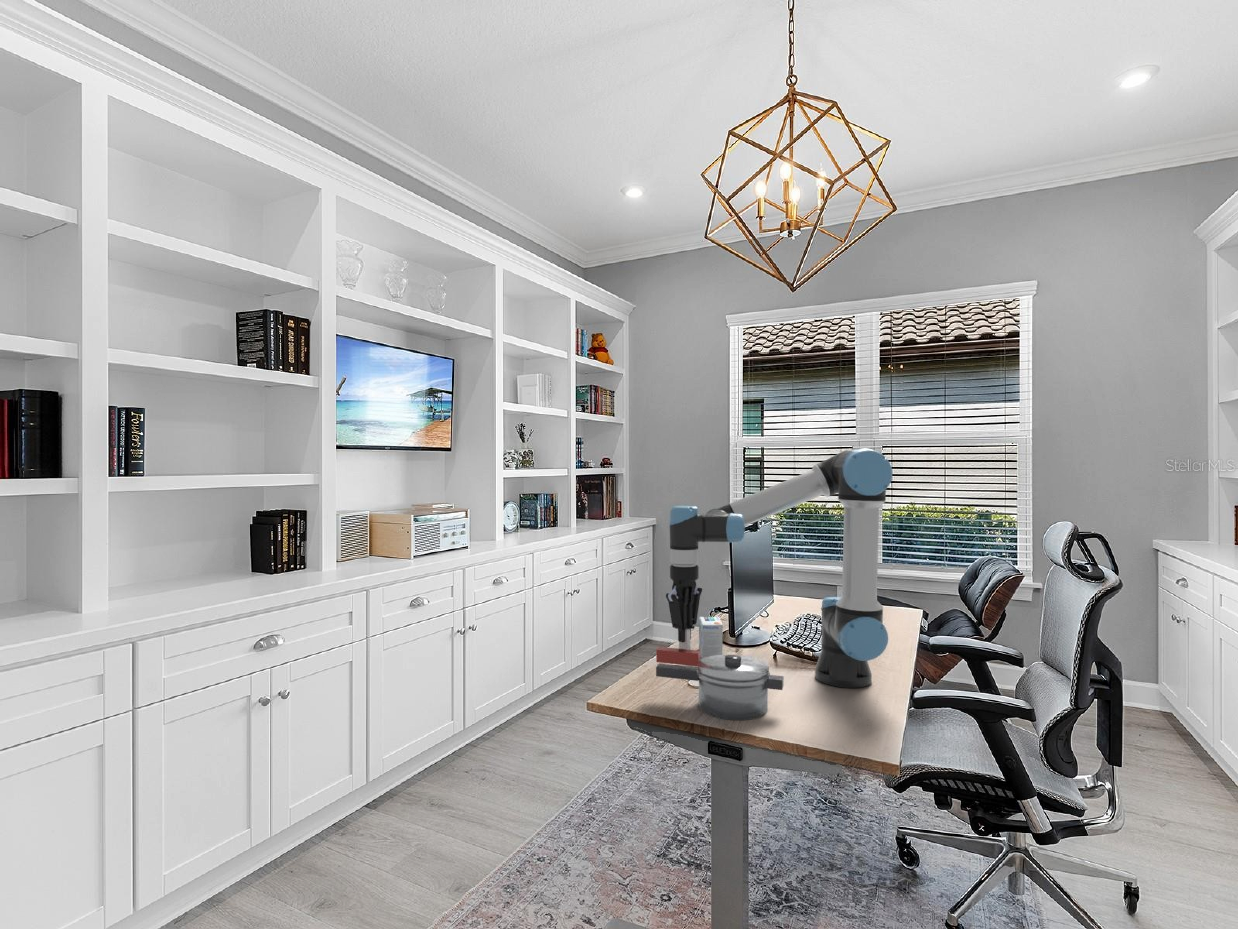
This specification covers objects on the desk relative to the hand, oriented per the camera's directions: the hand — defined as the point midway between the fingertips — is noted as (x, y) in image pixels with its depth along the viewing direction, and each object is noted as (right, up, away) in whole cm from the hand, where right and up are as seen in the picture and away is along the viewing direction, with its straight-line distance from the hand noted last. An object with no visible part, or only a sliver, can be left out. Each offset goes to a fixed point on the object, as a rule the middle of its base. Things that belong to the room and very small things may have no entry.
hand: (684, 653), depth 177 cm
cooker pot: (+8, -11, -8) cm, 16 cm away
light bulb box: (+12, -11, +36) cm, 39 cm away
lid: (+6, -1, -8) cm, 10 cm away
